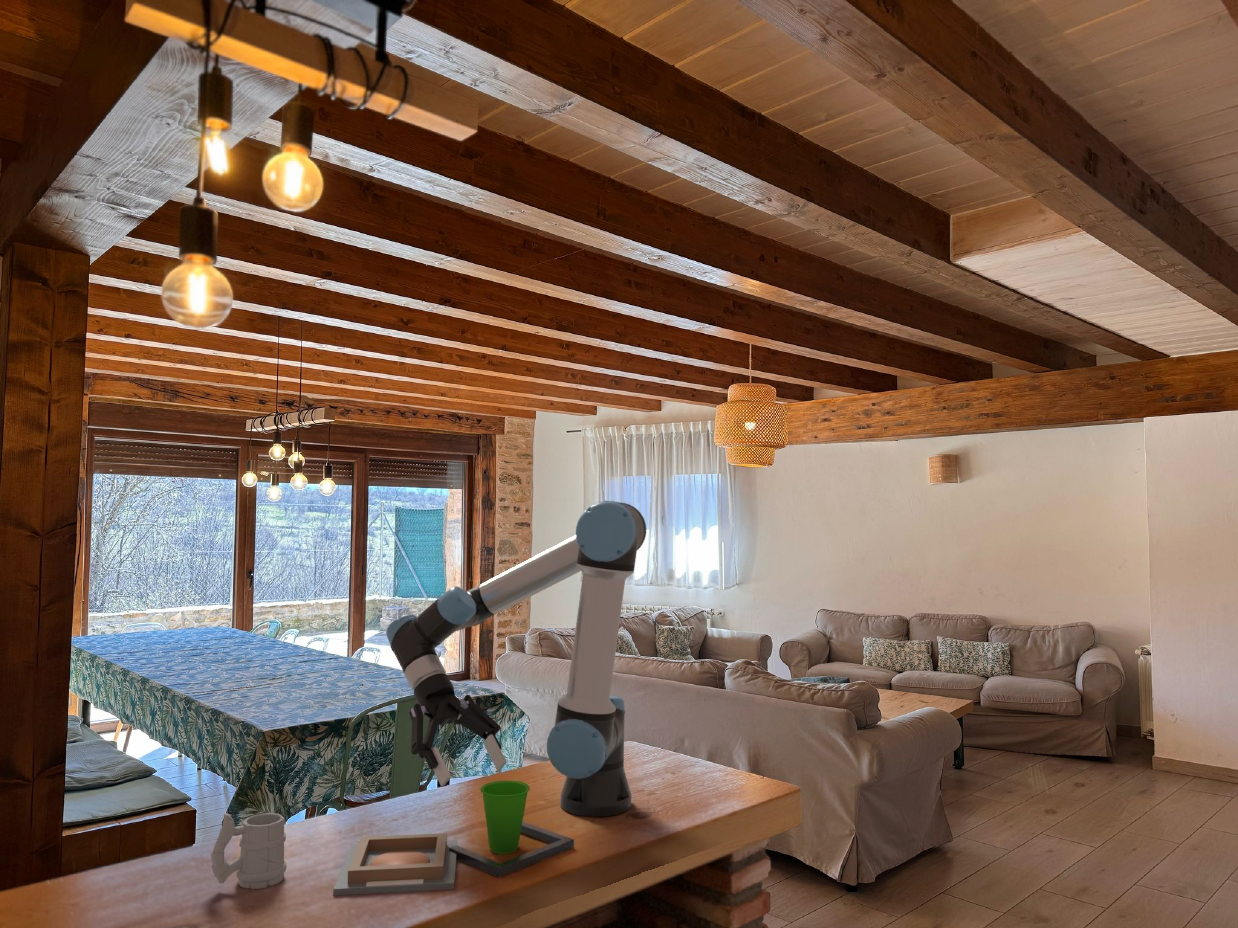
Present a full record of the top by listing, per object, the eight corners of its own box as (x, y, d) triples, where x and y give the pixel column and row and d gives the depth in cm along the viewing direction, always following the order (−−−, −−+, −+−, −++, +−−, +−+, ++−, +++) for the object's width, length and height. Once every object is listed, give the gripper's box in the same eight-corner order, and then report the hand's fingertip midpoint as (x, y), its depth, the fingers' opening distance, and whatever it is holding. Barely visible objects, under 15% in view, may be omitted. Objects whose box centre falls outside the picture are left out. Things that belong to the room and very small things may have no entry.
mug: (293, 881, 142) (295, 807, 142) (217, 901, 134) (220, 822, 135) (277, 866, 147) (280, 795, 148) (203, 884, 140) (206, 809, 141)
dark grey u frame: (573, 847, 158) (574, 839, 158) (499, 877, 144) (499, 868, 144) (523, 829, 167) (523, 821, 167) (448, 855, 153) (449, 847, 153)
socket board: (457, 845, 158) (457, 828, 158) (453, 889, 139) (454, 870, 140) (351, 850, 155) (351, 833, 155) (333, 895, 137) (333, 875, 137)
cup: (519, 860, 152) (521, 796, 153) (471, 855, 154) (473, 793, 154) (534, 841, 161) (535, 782, 161) (489, 837, 162) (490, 778, 163)
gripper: (469, 686, 184) (514, 771, 174) (368, 703, 166) (411, 800, 155) (486, 664, 181) (533, 749, 170) (384, 679, 163) (429, 776, 152)
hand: (475, 773), depth 163 cm, fingers open, 13 cm apart
